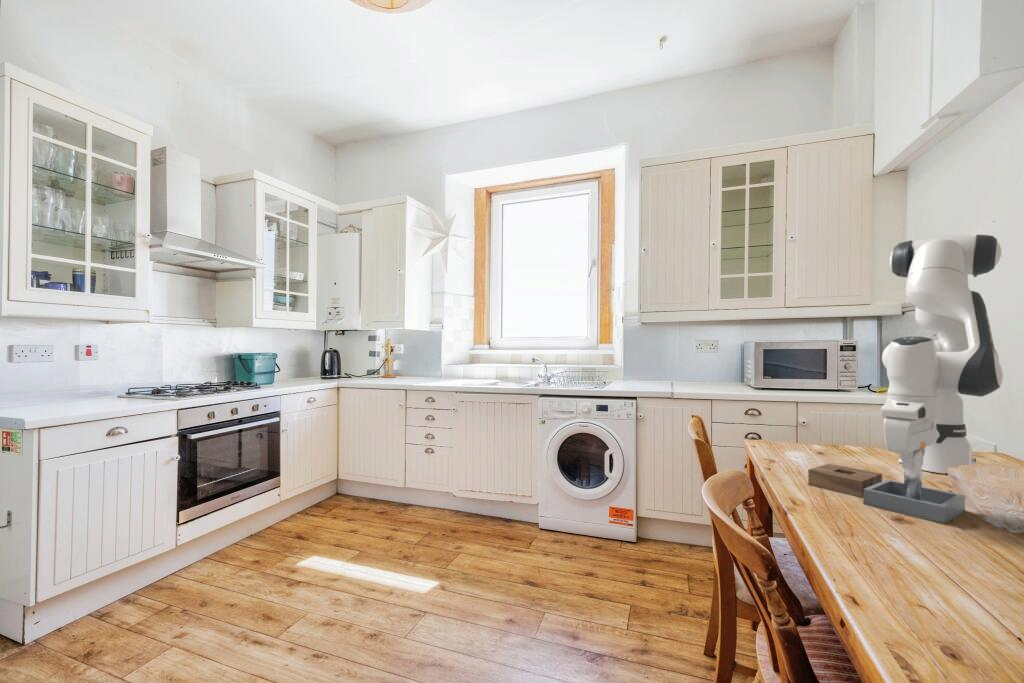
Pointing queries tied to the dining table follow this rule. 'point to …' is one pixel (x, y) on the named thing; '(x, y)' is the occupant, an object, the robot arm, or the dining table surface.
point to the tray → (915, 501)
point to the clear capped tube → (914, 477)
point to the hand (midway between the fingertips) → (912, 467)
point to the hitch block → (843, 479)
